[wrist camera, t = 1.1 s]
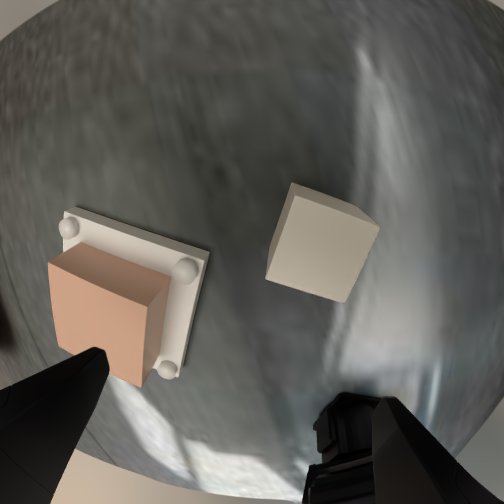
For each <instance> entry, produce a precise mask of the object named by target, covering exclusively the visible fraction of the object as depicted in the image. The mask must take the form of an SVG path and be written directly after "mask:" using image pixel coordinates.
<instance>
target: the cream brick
mask: <svg viewBox="0 0 504 504" xmlns="http://www.w3.org/2000/svg"><path fill="white" fill-rule="evenodd" d="M379 229H380V226H378V225H377V224H376V223H375V222H374V221H373V220H372V219H371V218H370V217H368V216H367V215H366V214H365V213H364V212H363V211H362V210H360V209H359V208H358V207H357V206H355V205H353V204H350V203H347V202H345V201H342V200H340V199H337V198H334V197H332V196H329V195H326V194H324V193H321V192H318V191H315V190H313V189H310V188H307V187H304V186H301V185H298V184H296V183H293V182H292V183H291V186H290V189H289V191H288V194H287V197H286V200H285V203H284V206H283V209H282V212H281V215H280V218H279V221H278V223H277V226H276V229H275V232H274V235H273V238H272V241H271V244H270V247H269V255H268V262H267V270H266V277H265V279H266V280H269V281H273V282H276V283H279V284H282V285H285V286H289V287H292V288H295V289H298V290H302V291H305V292H308V293H311V294H315V295H318V296H321V297H324V298H328V299H331V300H334V301H338V302H341V303H344V304H345V302H346V300H347V298H348V296H349V294H350V292H351V290H352V288H353V286H354V284H355V282H356V280H357V278H358V276H359V274H360V272H361V269H362V267H363V265H364V263H365V261H366V259H367V257H368V254H369V252H370V250H371V248H372V245H373V243H374V241H375V239H376V236H377V234H378V232H379Z"/></svg>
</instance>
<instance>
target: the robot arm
mask: <svg viewBox="0 0 504 504" xmlns="http://www.w3.org/2000/svg"><path fill="white" fill-rule="evenodd" d="M109 372H110V366H109V362H108V358H107V354H106V351H105V350H104V349H101V348H98V347H91V348H89V349H87V350H85V351H83V352H81V353H79V354H77V355H74V356H72V357H70V358H68V359H66V360H64V361H62V362H60V363H58V364H56V365H53V366H51V367H49V368H47V369H45V370H43V371H41V372H39V373H36V374H34V375H32V376H30V377H28V378H26V379H24V380H21V381H19V382H17V383H15V384H13V385H12V386H8V387H6V388H4V389H2V390H0V504H50V503H51V500H52V498H53V496H54V495H53V494H54V493H55V491H56V488H57V486H58V483H59V481H60V479H61V477H62V474H63V473H64V470H65V468H66V466H67V464H68V462H69V460H70V457H71V455H72V453H73V451H74V449H75V447H76V445H77V443H78V441H79V439H80V437H81V435H82V433H83V431H84V429H85V427H86V425H87V423H88V421H89V419H90V417H91V415H92V414H93V412H94V409H95V407H96V405H97V403H98V400H99V397H100V395H101V392H102V390H103V387H104V385H105V382H106V380H107V377H108V375H109ZM313 430H315V431H317V451H318V452H319V453H322V464H317V465H316V464H313V465H309V470H308V473H307V478H306V483H305V489H304V494H303V499H302V504H504V502H503V501H501V500H500V499H498V498H497V497H496V496H495V495H493V494H492V493H491V492H489V491H488V490H487V489H486V488H485V487H484V486H482V485H481V484H480V483H479V482H478V481H477V480H476V479H474V478H473V477H472V476H471V475H470V474H469V473H468V472H467V471H466V470H465V469H464V468H463V467H462V466H461V465H460V464H459V463H458V462H457V461H456V460H455V458H454V457H453V456H452V455H451V454H450V453H449V452H448V451H447V450H446V449H445V448H444V447H443V446H442V445H441V444H440V443H439V442H438V440H437V439H436V438H435V437H434V436H433V435H432V434H431V433H430V432H429V431H428V430H427V429H426V428H425V427H424V426H423V425H422V424H421V423H420V422H419V421H418V419H417V418H416V417H415V416H414V415H413V414H412V413H411V412H410V411H409V410H408V409H407V408H406V407H405V406H404V405H403V404H402V403H401V402H400V401H399V400H398V398H396V397H394V396H386V397H383V398H382V399H381V398H373V397H366V396H359V395H352V394H346V393H342V394H339V395H338V396H337V397H336V399H335V400H334V401H333V402H332V404H331V405H330V406H329V407H328V408H327V409H326V410H325V411H324V413H323V414H322V415H321V416H320V417H319V419H318V420H317V421H316V423H315V424H314V425H313Z"/></svg>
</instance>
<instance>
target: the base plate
mask: <svg viewBox="0 0 504 504" xmlns="http://www.w3.org/2000/svg"><path fill="white" fill-rule="evenodd" d="M59 231H60V234H61V236H62V237H63V253H62V254H60V255H58V256H57V257H55V258H54V259H52V260H50V261H49V262H48V272H49V284H50V294H51V302H52V310H53V317H54V323H55V329H56V335H57V340H58V345H59V346H60V347H61V348H63V349H65V350H66V351H68V352H70V353H72V354H73V355H77V354H79V353H81V352H83V351H85V350H87V349H89V348H91V347H98V348H101V349H104V350H105V351H106V354H107V358H108V362H109V366H110V372H109V373H110V374H112V375H114V376H116V377H118V378H120V379H122V380H124V381H127V382H129V383H131V384H133V385H136V386H138V387H140V388H142V386H143V384H144V382H145V380H146V379H147V377H148V375H149V373H150V371H151V369H152V368H154V369H157V372H158V374H159V375H160V376H161V377H163V378H165V379H173V378H174V377H179V375H180V372H181V370H182V368H183V364H184V359H185V355H186V350H187V345H188V341H189V336H190V332H191V328H192V323H193V319H194V315H195V310H196V306H197V302H198V298H199V294H200V290H201V286H202V282H203V278H204V274H205V270H206V266H207V262H208V258H209V254H210V252H208V251H205V250H202V249H199V248H196V247H193V246H190V245H187V244H184V243H181V242H178V241H175V240H172V239H169V238H166V237H163V236H160V235H157V234H154V233H151V232H148V231H145V230H142V229H139V228H136V227H133V226H130V225H128V224H125V223H122V222H119V221H116V220H113V219H110V218H107V217H104V216H101V215H98V214H95V213H93V212H90V211H87V210H84V209H81V208H78V207H73V208H71V209H68V210H66V211H64V219H63V220H61V222H60V224H59Z"/></svg>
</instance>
